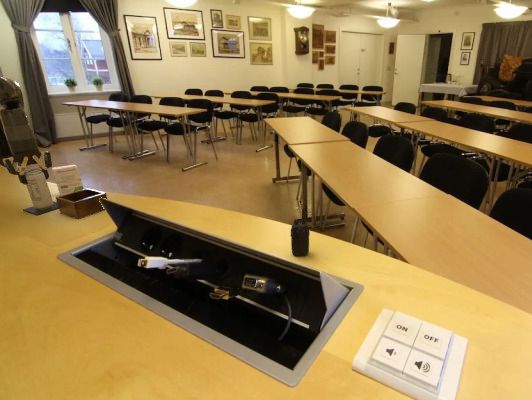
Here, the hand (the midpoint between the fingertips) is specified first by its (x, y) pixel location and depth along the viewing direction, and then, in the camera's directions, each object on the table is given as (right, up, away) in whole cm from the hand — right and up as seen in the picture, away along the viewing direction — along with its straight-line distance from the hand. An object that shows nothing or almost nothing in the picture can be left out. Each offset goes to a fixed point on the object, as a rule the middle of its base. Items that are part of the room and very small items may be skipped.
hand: (35, 181), depth 121 cm
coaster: (0, -10, +4) cm, 11 cm away
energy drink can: (0, -10, +4) cm, 11 cm away
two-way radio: (+102, -24, -26) cm, 108 cm away
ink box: (-2, -4, +21) cm, 21 cm away
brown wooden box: (+17, -11, +3) cm, 20 cm away
